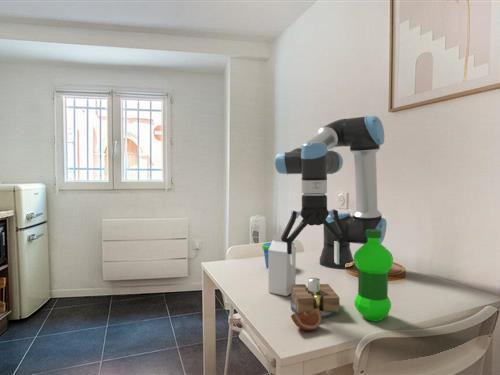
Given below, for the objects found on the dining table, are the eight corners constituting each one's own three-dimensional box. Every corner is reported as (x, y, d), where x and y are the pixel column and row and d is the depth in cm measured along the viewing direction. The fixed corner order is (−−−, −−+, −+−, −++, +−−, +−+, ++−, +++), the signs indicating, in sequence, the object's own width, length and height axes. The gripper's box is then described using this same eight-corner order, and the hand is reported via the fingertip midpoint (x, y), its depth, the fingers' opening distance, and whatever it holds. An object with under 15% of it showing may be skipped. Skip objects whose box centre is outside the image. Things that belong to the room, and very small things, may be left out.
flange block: (291, 296, 108) (291, 284, 108) (328, 296, 108) (328, 283, 108) (298, 312, 96) (298, 298, 96) (339, 311, 96) (339, 297, 96)
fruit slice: (298, 337, 84) (299, 318, 84) (285, 326, 91) (285, 308, 90) (326, 330, 88) (326, 312, 88) (311, 320, 94) (311, 303, 94)
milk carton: (286, 296, 112) (286, 240, 111) (268, 292, 116) (268, 238, 115) (295, 290, 118) (295, 236, 117) (277, 286, 122) (277, 235, 121)
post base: (314, 296, 112) (314, 270, 112) (347, 311, 100) (347, 281, 100) (281, 305, 104) (281, 277, 104) (312, 322, 93) (312, 290, 92)
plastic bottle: (364, 307, 103) (365, 226, 102) (398, 318, 95) (400, 230, 94) (346, 316, 97) (347, 230, 96) (381, 328, 89) (382, 235, 88)
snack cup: (258, 263, 154) (258, 241, 154) (280, 262, 156) (280, 240, 156) (267, 273, 139) (267, 248, 138) (291, 271, 141) (291, 247, 141)
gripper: (274, 196, 97) (275, 268, 98) (359, 194, 98) (359, 266, 99) (271, 194, 104) (272, 261, 105) (350, 192, 105) (350, 259, 106)
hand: (314, 263), depth 102 cm, fingers open, 13 cm apart
